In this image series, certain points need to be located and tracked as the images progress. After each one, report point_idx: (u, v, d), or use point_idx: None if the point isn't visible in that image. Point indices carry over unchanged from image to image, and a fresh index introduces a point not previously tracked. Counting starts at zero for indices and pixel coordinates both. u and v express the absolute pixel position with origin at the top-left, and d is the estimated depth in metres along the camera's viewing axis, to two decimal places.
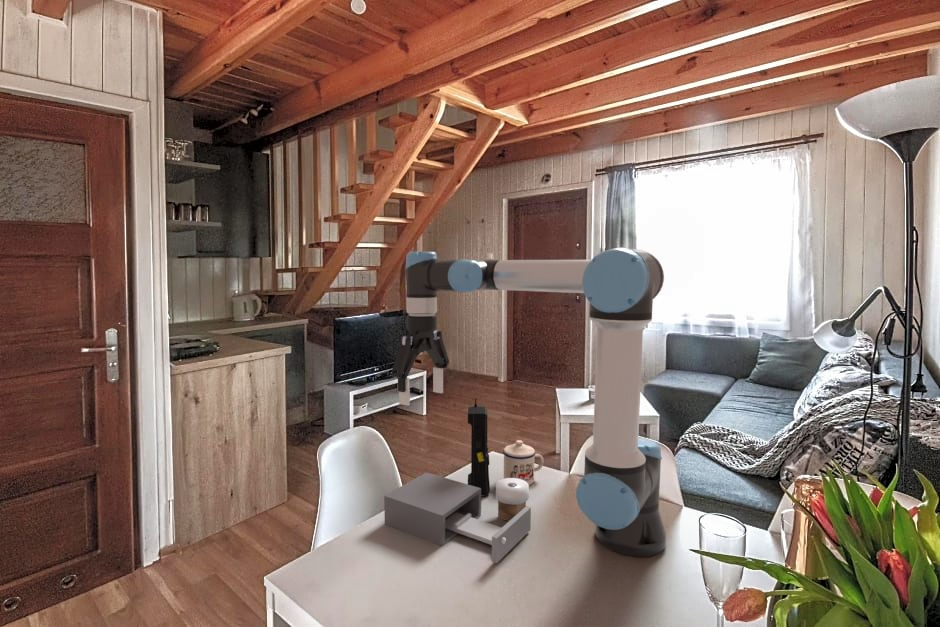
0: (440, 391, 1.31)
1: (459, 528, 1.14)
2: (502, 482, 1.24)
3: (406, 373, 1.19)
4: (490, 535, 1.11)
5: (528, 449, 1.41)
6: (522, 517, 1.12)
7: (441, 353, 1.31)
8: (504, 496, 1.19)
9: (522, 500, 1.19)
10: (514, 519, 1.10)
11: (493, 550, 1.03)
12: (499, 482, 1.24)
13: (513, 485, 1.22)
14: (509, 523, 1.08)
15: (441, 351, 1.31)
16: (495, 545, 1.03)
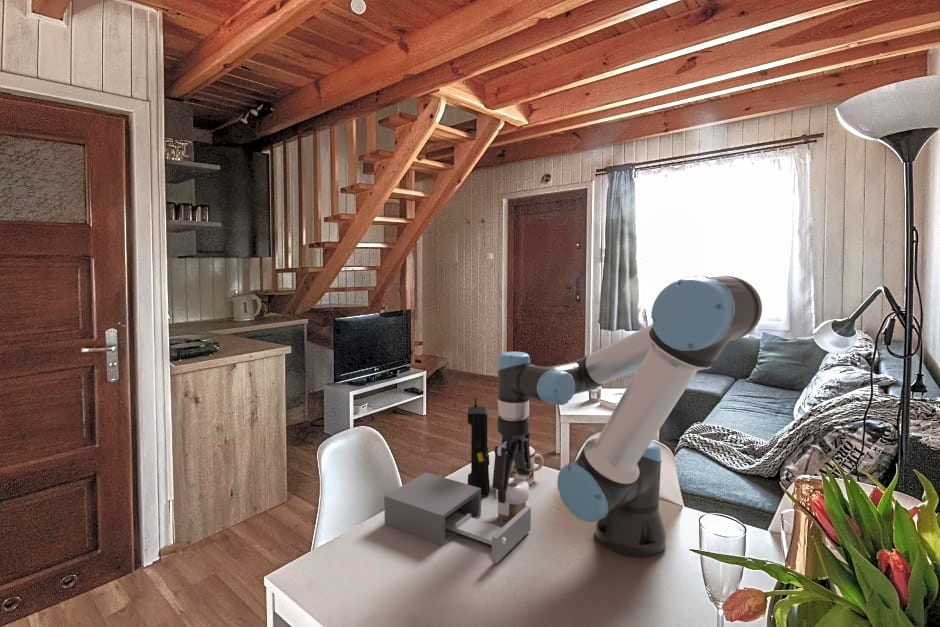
0: None
1: (459, 528, 1.14)
2: None
3: (506, 484, 1.17)
4: (490, 535, 1.11)
5: None
6: (522, 517, 1.12)
7: (524, 456, 1.27)
8: None
9: (522, 500, 1.19)
10: (514, 519, 1.10)
11: (493, 550, 1.03)
12: None
13: (513, 485, 1.22)
14: (509, 523, 1.08)
15: (525, 455, 1.26)
16: (495, 545, 1.03)
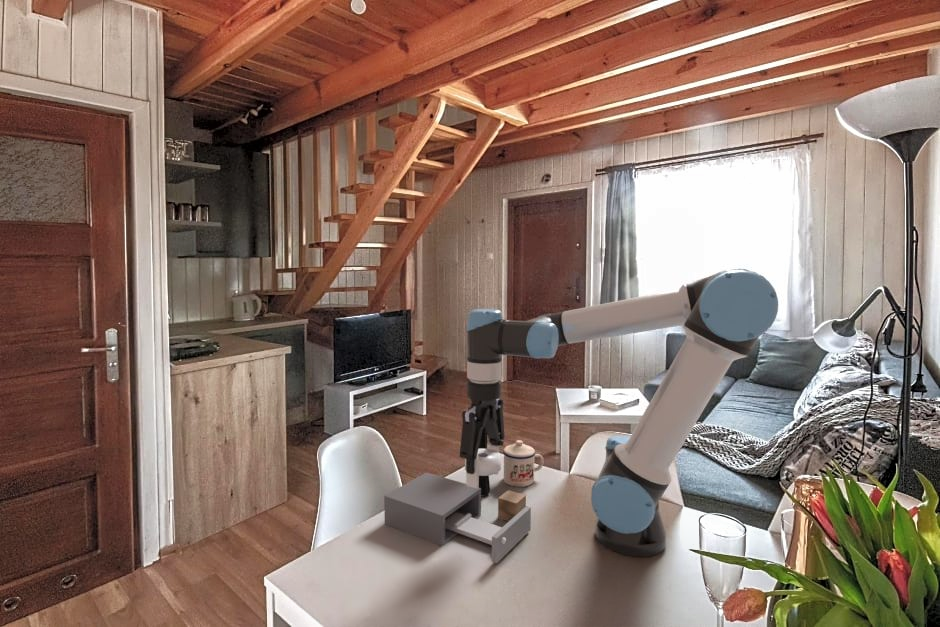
0: None
1: (459, 528, 1.14)
2: None
3: (475, 453, 1.07)
4: (490, 535, 1.11)
5: (528, 449, 1.41)
6: (522, 517, 1.12)
7: (498, 425, 1.16)
8: None
9: (493, 471, 1.09)
10: (514, 519, 1.10)
11: (493, 550, 1.03)
12: None
13: (483, 455, 1.12)
14: (509, 523, 1.08)
15: (498, 423, 1.16)
16: (495, 545, 1.03)
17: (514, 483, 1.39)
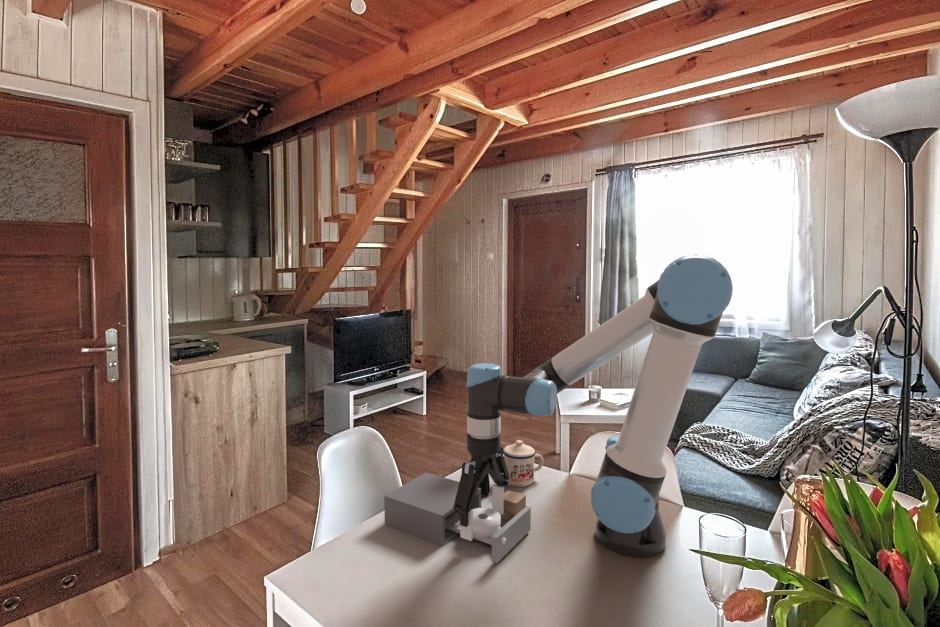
0: (500, 512, 1.18)
1: (459, 528, 1.14)
2: (473, 512, 1.15)
3: (469, 506, 1.06)
4: None
5: (528, 449, 1.41)
6: (522, 517, 1.12)
7: (501, 469, 1.18)
8: (473, 530, 1.10)
9: (493, 534, 1.10)
10: (514, 519, 1.10)
11: (493, 550, 1.03)
12: None
13: (483, 516, 1.13)
14: (509, 523, 1.08)
15: (501, 468, 1.18)
16: (495, 545, 1.03)
17: (514, 483, 1.39)
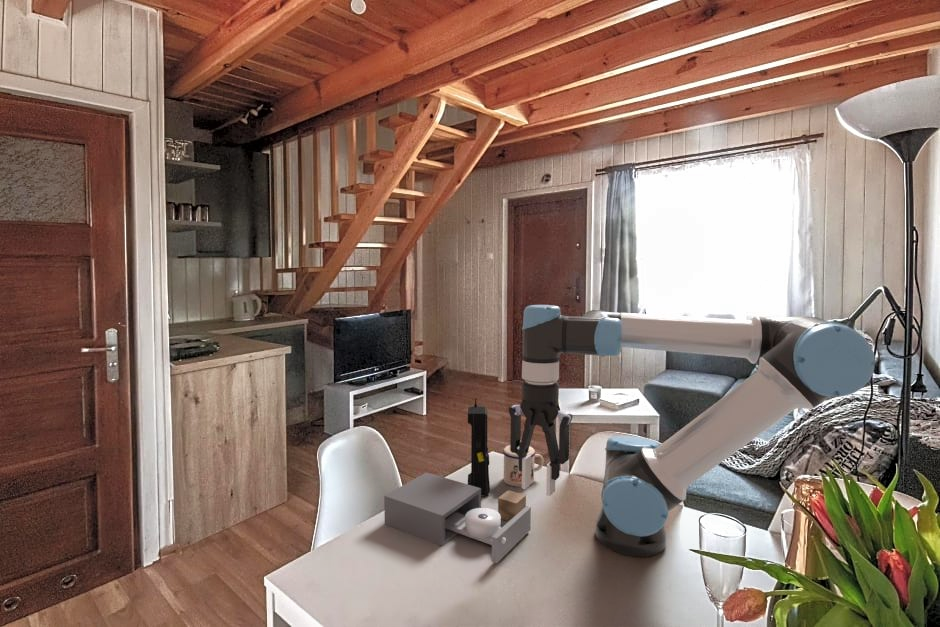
0: None
1: (459, 528, 1.14)
2: (473, 512, 1.15)
3: (520, 451, 1.05)
4: None
5: None
6: (522, 517, 1.12)
7: None
8: (473, 530, 1.10)
9: (493, 534, 1.10)
10: (514, 519, 1.10)
11: (493, 550, 1.03)
12: (469, 513, 1.15)
13: (483, 516, 1.13)
14: (509, 523, 1.08)
15: None
16: (495, 545, 1.03)
17: (514, 483, 1.39)
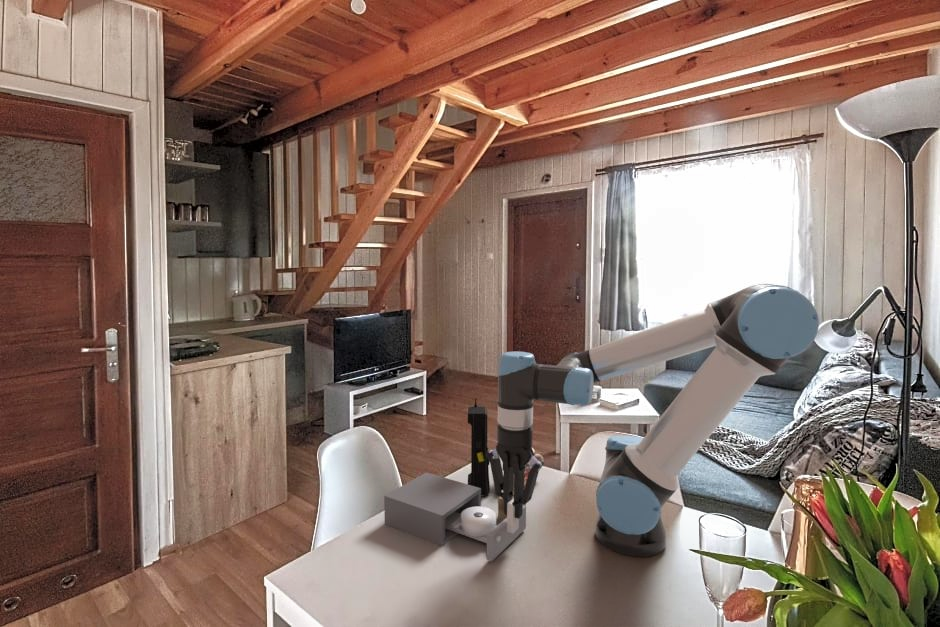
0: None
1: (455, 526, 1.14)
2: (468, 511, 1.15)
3: (505, 495, 1.08)
4: None
5: None
6: None
7: None
8: (469, 528, 1.11)
9: (488, 532, 1.11)
10: None
11: (488, 548, 1.04)
12: (465, 512, 1.15)
13: (479, 515, 1.14)
14: (504, 521, 1.09)
15: None
16: (490, 544, 1.03)
17: None
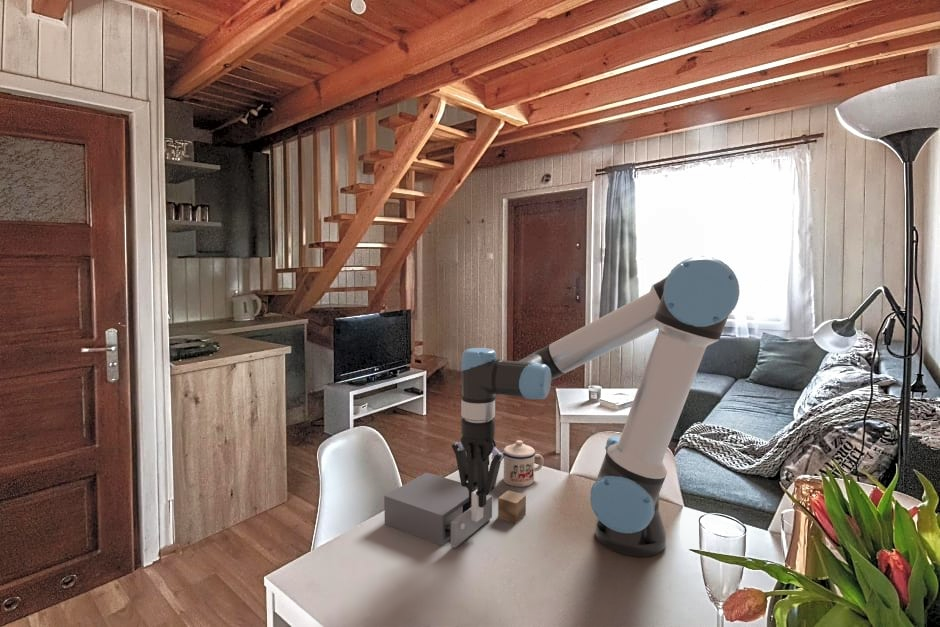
0: None
1: None
2: None
3: (469, 485, 1.13)
4: None
5: (528, 449, 1.41)
6: None
7: None
8: None
9: None
10: None
11: (452, 535, 1.08)
12: None
13: None
14: (469, 510, 1.14)
15: None
16: (454, 531, 1.08)
17: (514, 483, 1.39)
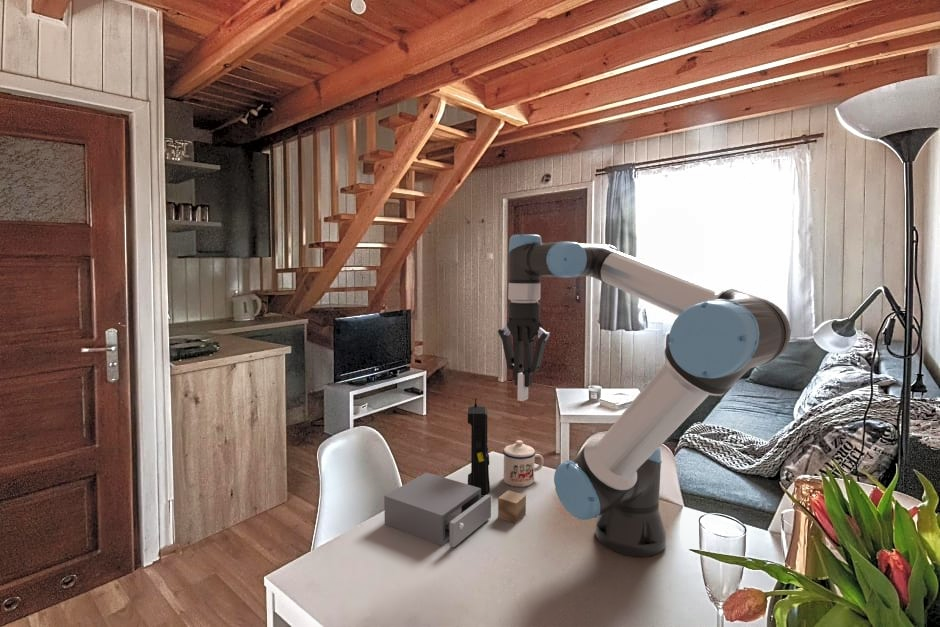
0: None
1: None
2: None
3: (515, 367, 1.19)
4: None
5: (528, 449, 1.41)
6: (481, 504, 1.18)
7: None
8: None
9: None
10: (473, 506, 1.16)
11: (451, 535, 1.09)
12: None
13: None
14: (468, 510, 1.14)
15: None
16: (453, 530, 1.08)
17: (514, 483, 1.39)
